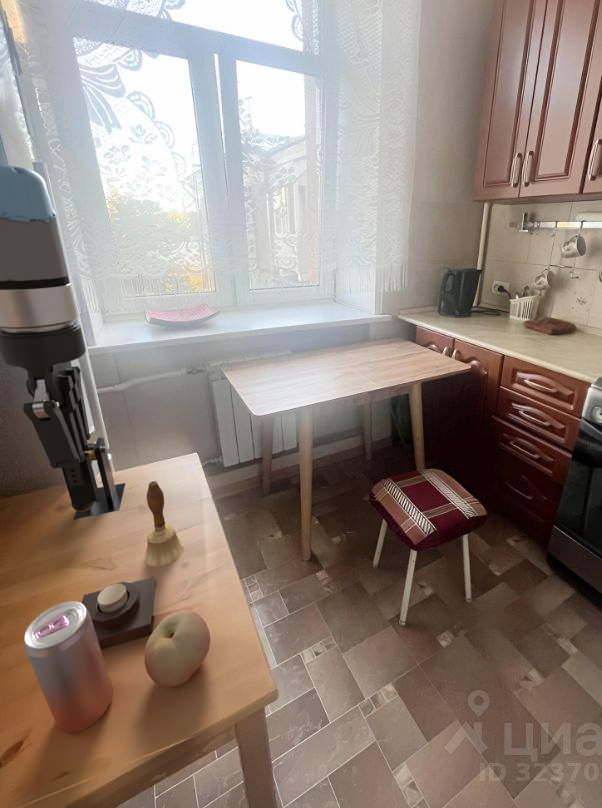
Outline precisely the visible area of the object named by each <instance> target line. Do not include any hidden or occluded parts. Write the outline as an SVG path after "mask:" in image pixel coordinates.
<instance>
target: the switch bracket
mask: <svg viewBox="0 0 602 808" xmlns="http://www.w3.org/2000/svg"><path fill="white" fill-rule="evenodd" d="M107 447H108V446H106V443H105V438H104V437H97V439H96V442H95V450H94V452H95V456H96V460H95V461H96V464H97V468H98V471H99V477H100V480H101V483H102V486H100V487H98V491H99V497H98V500H97V501H96V502H95V504H94V505H93V507H92V508H91V509H89V510H87V511H84V512H79V511H76V510H75V514H74V516H73V520H78V519H84V518H88V517H94V516H99V515H104V514H109V513H113V512H119V511H120V509H121V505H122V501H123V496H124V492H125V489H126V488H125V486H126V482H123V483H117V484H116V483H115V480H114V476H113V471H112V468H111V464H110V459H109V456H108V448H107Z"/></svg>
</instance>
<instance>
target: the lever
mask: <svg viewBox="0 0 602 808" xmlns="http://www.w3.org/2000/svg"><path fill="white" fill-rule="evenodd" d="M92 443H95V442H88V444H92ZM85 453H89V456H90V460H91V464H92V465H93V461H97V460H96V456H95V452H94V450H90V451H85ZM70 503H71V504H70V505H71V507H72V509H73V510H74V511H75V512H76V511H79V512H84V511H87V510H89V509H91V508H92V507H93V505H94V504H95V502H91V503H85V504H80V505H75V506H72V502H70Z"/></svg>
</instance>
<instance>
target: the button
mask: <svg viewBox="0 0 602 808" xmlns="http://www.w3.org/2000/svg"><path fill="white" fill-rule="evenodd" d="M103 589H104V590H103ZM103 589H101V590H102V591H101V590H100V591H101V593H100V594H99V596H98V603H99V607H100V610H101V611H102V612H104V613H110V612H114V611H116V610H118V609H120V608H121V607H123V606H124V605H125V603H126V602H127V599H128V595H127V591H126V588H125V586H124V585H123V584H116V583H113V585H112V584H109V585H108V586H107V587H105V588H103Z"/></svg>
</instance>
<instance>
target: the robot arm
mask: <svg viewBox="0 0 602 808" xmlns="http://www.w3.org/2000/svg"><path fill="white" fill-rule="evenodd" d="M57 218H58V217H57V212H56V211H55V209H54V207H53V204H52V201H51V197H50V193H49V190H48V187H47V183H46V181H45V178H43V177H42V176H41V174H39V173H37V172H36V171H34V170H33V169H29V168H25V167H22V166H21V167H19V166H14V165H6V164H0V357H1V359H2V361H3V362H4V364H6V365H7V366H9V367H14V368H21V369H24V370H26V372H27V374H26V375H27V379H26V381H25V385H26V388H27V392H28V394H29V395H30V396H31V397H32V400H33V401H32V402H25V403H23V408H22V410H23V413H24V414H25V416H26V417H27V418H28V419H29V420H30V422H31V423H32V425H33V427H34V430H35V432H36V434H37V437H38V439H39V441H40V444H41V445H42V448H43V451H44V452H45V454H46V456H47V457H46V458H47V459H48V461H49V465H50V467H51V468H52V469H53V470H54V469H55V470H56V469H61V471H62V475H63V478H64V481H65V485H66V489H67V492H68V495H69V498H70V503H72V504H71V507H72V506H75V505H80V504H85V503H91V502H96V501H97V500H98V497H99V491H98V488H99V487H98V484H97V479H96V477H95V472H94V469H93V463H92V464H91V460H90V456H89V453H85V451H90V450H95V444H96V442H94V443H93V442H91V443H92V444H88V443H89V442H88V441H90V440H91V433H90V427H89V421H88V416H87V412H86V411H87V410H86V405H85V400H84V399H85V397H84V394H83V393H84V392H83V387H82V376H81V372H82V371H81V368H80V366H79V365H75V366H72V361H76V360H78V359H80V358H81V357H82V356H84V355H85V354H86V352H87V348H86V344H85V339H84V335H83V331H82V326H81V324H79V323H78V322H77V321H76V320H78V318H79V316H80V315H79V311H78V307H77V303H76V299H75V295H74V292H73V291H74V290H73V287H72V283H71V282H70V281H71V280H70V278H69V277H70V276H69V272H68V267H67V263H66V258H65V253H64V248H63V245H62V244H63V243H62V240H61V235H60V230H59V226H58V221H57Z"/></svg>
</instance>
